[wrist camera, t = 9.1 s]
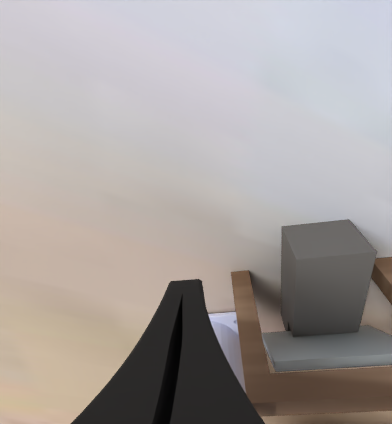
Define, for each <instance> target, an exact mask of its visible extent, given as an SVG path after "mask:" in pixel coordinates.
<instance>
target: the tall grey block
mask: <svg viewBox="0 0 392 424" xmlns="http://www.w3.org/2000/svg"><path fill="white" fill-rule="evenodd" d="M376 253H377V251H376V250H375V249H374V248H373V247H372V246H371V244H370V243H369V242H368V241H367V240H366V239H365V237H364V236H363V235H362V234H361V233H360V232H359V230H358V229H357V228H356V227H355V226H354V225H353V224H352V222H351V221H350V220H349V219H348V220H339V221H329V222H320V223H311V224H301V225H292V226H282V248H281V316H282V320H283V323H284V326H285V330H286V331H291V333H292V336H293V337H297V336H311V335H325V334H340V333H354V332H358V331H359V327H360V323H361V318H362V314H363V310H364V305H365V301H366V297H367V292H368V288H369V284H370V279H371V275H372V271H373V266H374V262H375V258H376Z"/></svg>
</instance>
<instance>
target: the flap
mask: <svg viewBox="0 0 392 424" xmlns="http://www.w3.org/2000/svg"><path fill="white" fill-rule="evenodd" d="M262 338H263V343H264V346H265V348H266V351H267V353H268V355H269V357H270V360H271V362H272V364H273V367H274V369H275V371H276V372H282V371H299V370H315V369H332V368H349V367H366V366H383V365H392V336H391V335H389V334H387V333H385V332H382V331H380V330H378V329H376V328H373V327H371V326H369V325H367V326H360V327H359V331H358V332H354V333H340V334H325V335H311V336H297V337H293V336H292V333H291V331H284V332H271V333H262Z"/></svg>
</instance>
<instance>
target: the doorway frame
mask: <svg viewBox="0 0 392 424" xmlns="http://www.w3.org/2000/svg"><path fill="white" fill-rule="evenodd" d="M231 276H232V285H233V293H234V302H235V310H236V318H237V326H238V334H239V342H240V350H241V358H242V366H243V374H244V382H245V390H246V395H247V397H248V398H249V400H250V401H251V403H252V405H253V406H254V408H255V409H256V411H257V412H258V414H259V416H280V415H302V414H325V413H347V412H369V411H392V367H376V368H359V369H342V370H325V371H308V372H291V373H274V374H270V372H269V367H268V363H267V358H266V353H265V348H264V343H263V338H262V333H261V329H260V324H259V319H258V314H257V309H256V304H255V299H254V295H253V290H252V285H251V280H250V275H249V271H238V272H231ZM371 278H372V279H373V280H374V282H375V283H376V284H377V286H378V287H379V288H380V290H381V291H382V292H383V294H384V295H385V296H386V298H387V299H388V300H389V302H390V303H391V305H392V257H388V258H377V259H375V262H374V266H373V271H372V275H371Z"/></svg>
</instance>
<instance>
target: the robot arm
mask: <svg viewBox="0 0 392 424" xmlns="http://www.w3.org/2000/svg"><path fill="white" fill-rule="evenodd" d="M71 424H265V423H264V422H263V420H262V419H261V417H260V416H259V414H258V412H257V411H256V409H255V408H254V406H253V405H252V403H251V401H250V400H249V398H248V397H247V395H246V390H245V382H244V374H243V366H242V358H241V350H240V342H239V334H238V326H237V318H236V312H226V313H213V314H208V312H207V309H206V305H205V299H204V292H203V286H202V281H201V280H199V279H195V280H182V281H171V282H170V283H169V285H168V288H167V290H166V292H165V294H164V297H163V299H162V301H161V303H160V305H159V307H158V309H157V311H156V312H155V314H154V316H153V318H152V320H151V322H150V323H149V325H148V327H147V328H146V330H145V332H144V333H143V335H142V337H141V338H140V340H139V341H138V343H137V345H136V346H135V348H134V349H133V350H132V352H131V353H130V355H129V356H128V358H127V359H126V360H125V362H124V363H123V364H122V366H121V367H120V368H119V370H118V371H117V372H116V373H115V375H114V376H113V377H112V379H111V380H110V381H109V382H108V383H107V385H106V386H105V387H104V388H103V389H102V391H101V392H100V393H99V394H98V395H97V396H96V397H95V398H94V399H93V401H92V402H91V403H90V404H89V405H88V406H87V407H86V408H85V409H84V411H83V412H82V413H81V414H80V415H79V416H78V417H77V418H76V419H75V420H74V421H73V422H72V423H71Z"/></svg>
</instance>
